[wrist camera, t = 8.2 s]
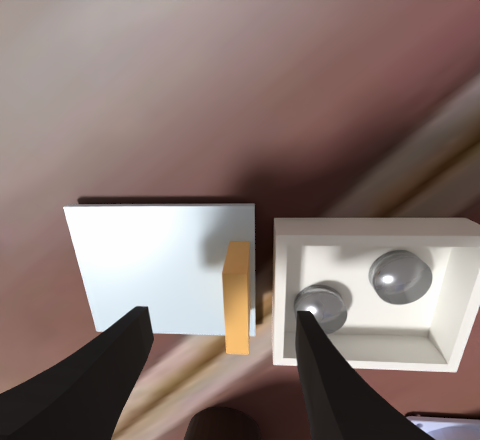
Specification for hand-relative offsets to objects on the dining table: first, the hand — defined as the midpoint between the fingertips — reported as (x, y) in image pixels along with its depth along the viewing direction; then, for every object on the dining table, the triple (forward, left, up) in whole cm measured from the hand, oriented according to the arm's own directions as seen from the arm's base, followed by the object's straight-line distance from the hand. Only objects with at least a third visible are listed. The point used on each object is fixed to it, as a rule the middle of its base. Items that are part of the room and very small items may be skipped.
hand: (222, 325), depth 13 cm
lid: (+4, 0, -6) cm, 7 cm away
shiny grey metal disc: (-10, 0, -5) cm, 11 cm away
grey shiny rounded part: (-6, +2, -5) cm, 8 cm away
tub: (-8, +1, -5) cm, 10 cm away
